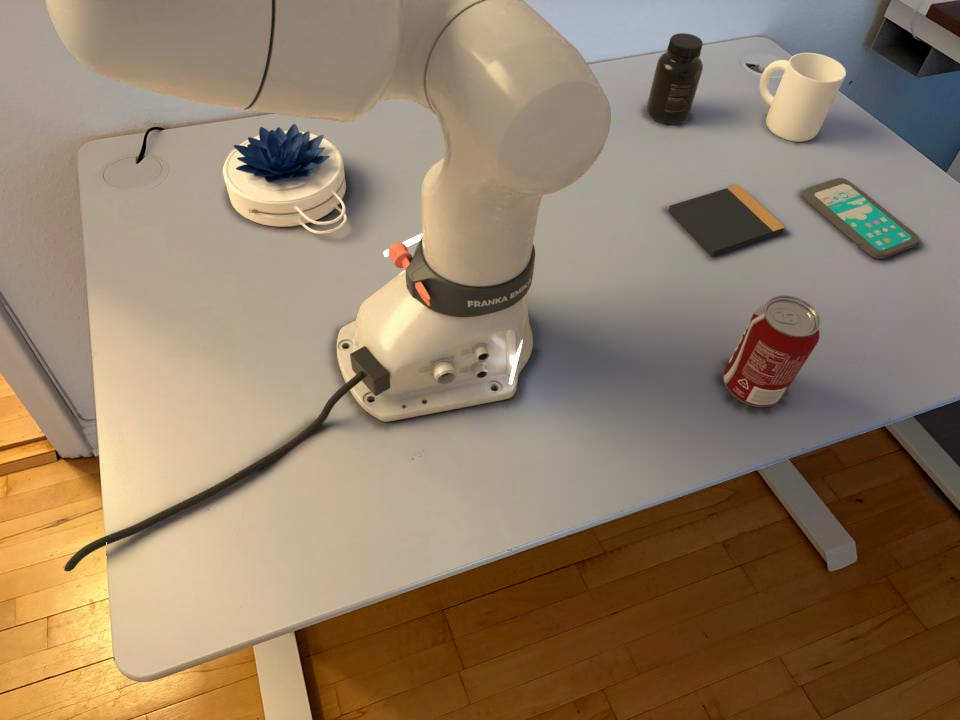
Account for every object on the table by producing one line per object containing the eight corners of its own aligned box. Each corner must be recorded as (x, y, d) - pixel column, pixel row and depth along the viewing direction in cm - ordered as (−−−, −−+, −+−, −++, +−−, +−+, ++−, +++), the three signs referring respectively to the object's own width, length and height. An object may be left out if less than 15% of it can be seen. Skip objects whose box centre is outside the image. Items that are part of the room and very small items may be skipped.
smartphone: (845, 174, 105) (924, 238, 97) (842, 180, 106) (921, 244, 98) (800, 189, 102) (878, 256, 94) (798, 195, 103) (875, 261, 95)
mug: (735, 112, 116) (757, 51, 108) (766, 97, 119) (790, 36, 111) (796, 149, 110) (824, 88, 102) (827, 132, 114) (857, 71, 106)
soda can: (783, 416, 79) (830, 346, 69) (721, 404, 79) (759, 333, 70) (779, 368, 83) (823, 297, 74) (720, 357, 84) (757, 285, 74)
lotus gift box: (196, 138, 93) (272, 221, 84) (302, 100, 100) (383, 173, 91) (209, 181, 99) (282, 263, 90) (309, 142, 105) (386, 215, 96)
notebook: (711, 257, 94) (714, 251, 93) (667, 211, 100) (669, 204, 99) (781, 233, 98) (785, 227, 97) (735, 190, 103) (738, 184, 103)
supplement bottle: (694, 111, 116) (717, 38, 106) (678, 131, 112) (700, 57, 103) (655, 96, 118) (674, 24, 108) (638, 116, 114) (656, 42, 105)
